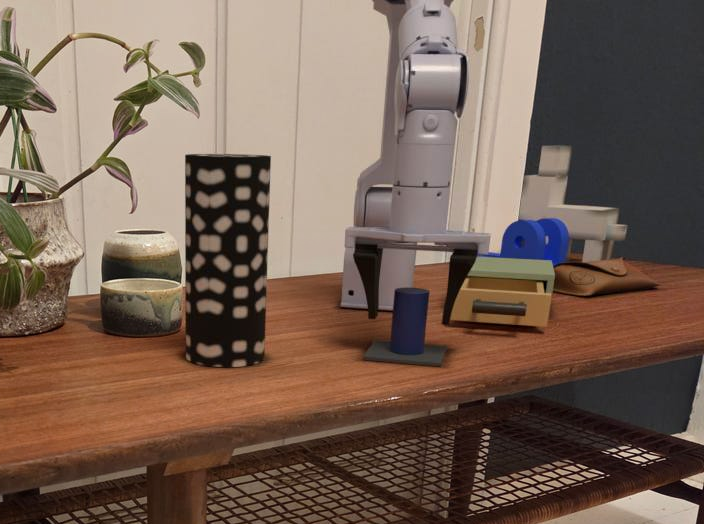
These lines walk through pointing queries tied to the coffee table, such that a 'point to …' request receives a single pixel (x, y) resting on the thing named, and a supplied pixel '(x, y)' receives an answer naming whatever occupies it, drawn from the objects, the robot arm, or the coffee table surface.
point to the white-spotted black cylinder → (226, 258)
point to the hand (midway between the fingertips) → (409, 320)
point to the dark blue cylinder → (409, 321)
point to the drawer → (502, 301)
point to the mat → (382, 353)
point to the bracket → (534, 241)
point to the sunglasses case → (599, 278)
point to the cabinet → (515, 270)
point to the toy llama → (569, 207)
